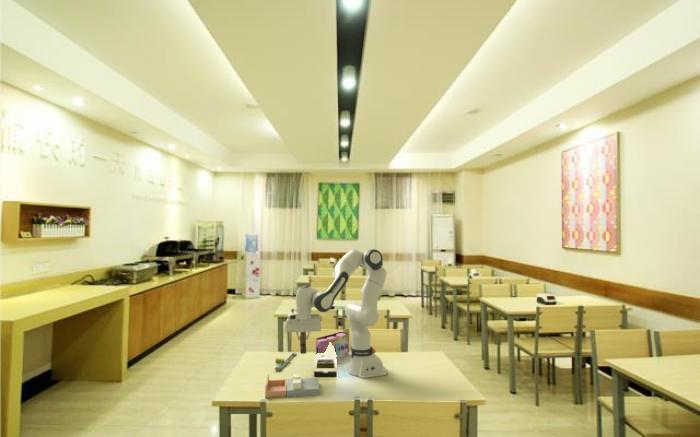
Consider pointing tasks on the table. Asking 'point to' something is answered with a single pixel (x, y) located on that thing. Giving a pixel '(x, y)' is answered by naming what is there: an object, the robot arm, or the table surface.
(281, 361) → the flamethrower
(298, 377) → the tile
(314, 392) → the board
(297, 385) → the tile
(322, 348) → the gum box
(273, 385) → the box
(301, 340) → the scraper
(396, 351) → the table surface
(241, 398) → the table surface
